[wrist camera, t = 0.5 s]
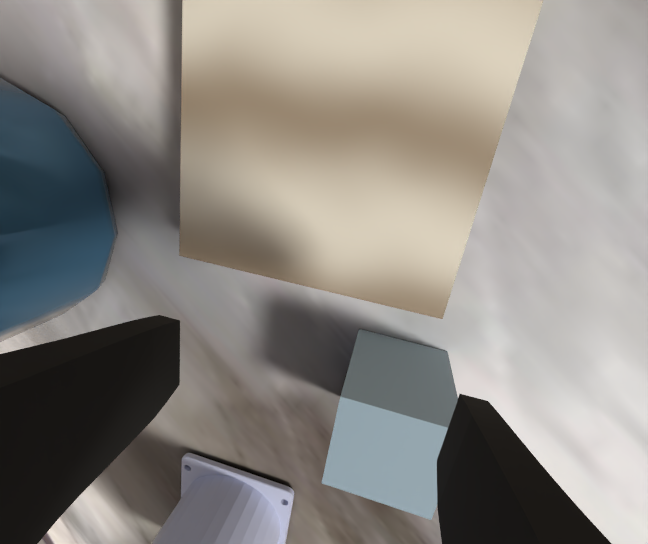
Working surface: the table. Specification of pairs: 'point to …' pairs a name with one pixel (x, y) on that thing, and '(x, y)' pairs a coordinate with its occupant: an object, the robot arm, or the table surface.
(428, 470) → the block
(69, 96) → the table surface
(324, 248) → the plinth
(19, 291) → the wine bottle
